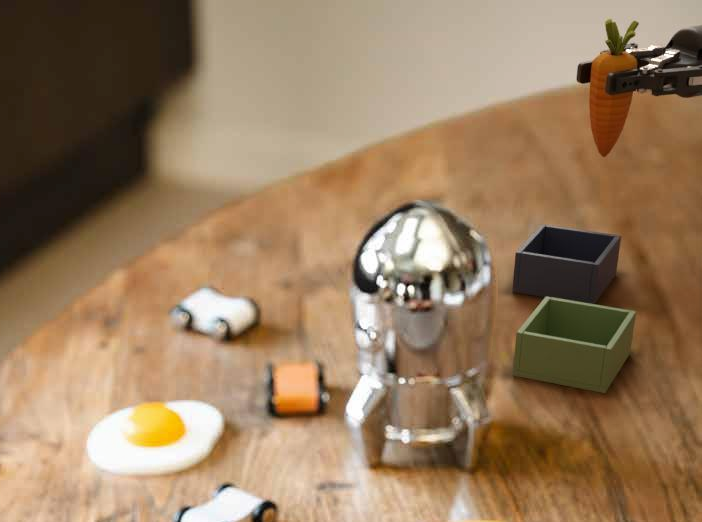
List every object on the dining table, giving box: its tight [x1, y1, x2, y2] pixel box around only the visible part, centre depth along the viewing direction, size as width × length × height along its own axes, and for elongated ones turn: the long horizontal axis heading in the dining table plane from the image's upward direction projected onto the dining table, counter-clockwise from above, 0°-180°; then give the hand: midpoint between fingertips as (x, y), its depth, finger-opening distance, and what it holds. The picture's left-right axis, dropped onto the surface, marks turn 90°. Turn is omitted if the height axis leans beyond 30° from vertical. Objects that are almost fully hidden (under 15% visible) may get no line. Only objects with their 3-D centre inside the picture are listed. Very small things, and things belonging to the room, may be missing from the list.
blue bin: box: [511, 223, 622, 304], centre depth 134 cm, size 9×9×5 cm
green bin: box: [512, 296, 637, 394], centre depth 118 cm, size 9×9×5 cm
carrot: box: [588, 18, 640, 158], centre depth 136 cm, size 5×5×15 cm
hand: (593, 79), depth 134 cm, fingers closed on carrot, 5 cm apart
